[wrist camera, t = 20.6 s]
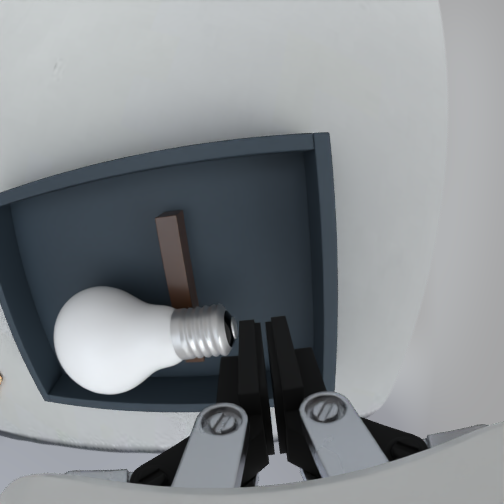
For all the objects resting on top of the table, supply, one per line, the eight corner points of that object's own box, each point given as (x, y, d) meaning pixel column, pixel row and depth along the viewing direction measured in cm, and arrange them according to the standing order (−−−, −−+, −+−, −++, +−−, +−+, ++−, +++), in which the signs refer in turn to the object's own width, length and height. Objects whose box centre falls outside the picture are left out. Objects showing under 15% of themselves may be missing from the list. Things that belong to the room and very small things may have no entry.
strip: (183, 209, 17) (176, 214, 15) (207, 346, 20) (204, 362, 18) (162, 212, 17) (154, 217, 15) (189, 347, 20) (185, 362, 18)
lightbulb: (252, 352, 19) (105, 363, 20) (231, 254, 18) (78, 281, 19) (243, 416, 13) (60, 410, 14) (210, 285, 12) (18, 311, 13)
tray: (313, 137, 17) (329, 132, 13) (323, 367, 21) (334, 398, 18) (6, 194, 17) (-25, 202, 13) (62, 376, 21) (44, 401, 18)
